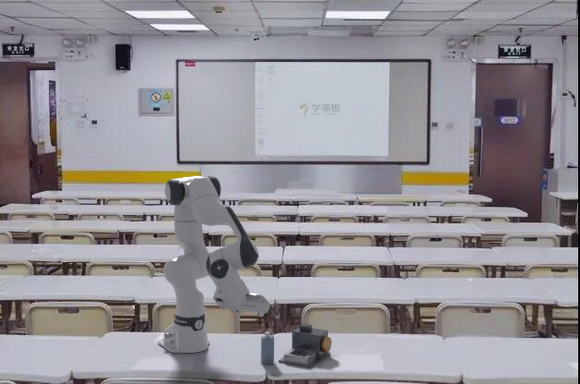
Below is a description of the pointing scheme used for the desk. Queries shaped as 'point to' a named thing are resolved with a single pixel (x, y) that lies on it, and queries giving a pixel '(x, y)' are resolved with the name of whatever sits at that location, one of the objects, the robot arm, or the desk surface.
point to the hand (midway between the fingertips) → (250, 313)
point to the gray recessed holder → (308, 346)
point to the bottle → (267, 349)
